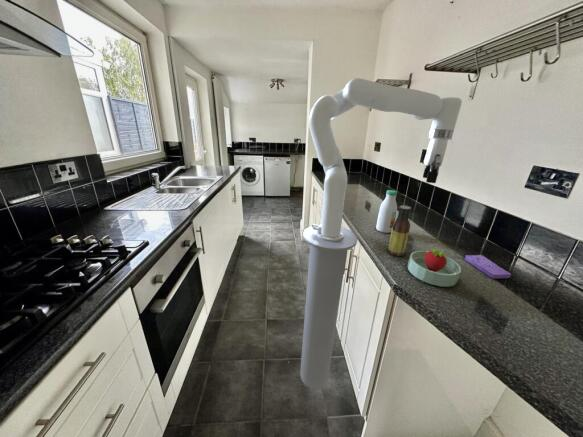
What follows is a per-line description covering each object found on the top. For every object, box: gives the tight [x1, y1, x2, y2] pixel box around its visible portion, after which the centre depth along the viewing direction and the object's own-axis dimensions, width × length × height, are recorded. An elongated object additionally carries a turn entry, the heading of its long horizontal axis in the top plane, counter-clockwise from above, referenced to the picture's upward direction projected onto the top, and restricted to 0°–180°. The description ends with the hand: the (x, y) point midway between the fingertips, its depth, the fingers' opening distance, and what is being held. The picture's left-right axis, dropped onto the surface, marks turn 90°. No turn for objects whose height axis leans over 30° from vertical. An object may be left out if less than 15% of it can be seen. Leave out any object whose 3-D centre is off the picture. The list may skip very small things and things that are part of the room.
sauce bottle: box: [388, 205, 412, 257], centre depth 90 cm, size 7×6×20 cm
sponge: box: [464, 254, 512, 279], centre depth 86 cm, size 7×13×2 cm, turn 5°
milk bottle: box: [375, 189, 398, 234], centre depth 111 cm, size 8×8×20 cm
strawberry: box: [425, 247, 447, 272], centre depth 79 cm, size 6×8×10 cm
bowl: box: [407, 250, 462, 288], centre depth 80 cm, size 15×15×5 cm
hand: (428, 180), depth 93 cm, fingers open, 9 cm apart
